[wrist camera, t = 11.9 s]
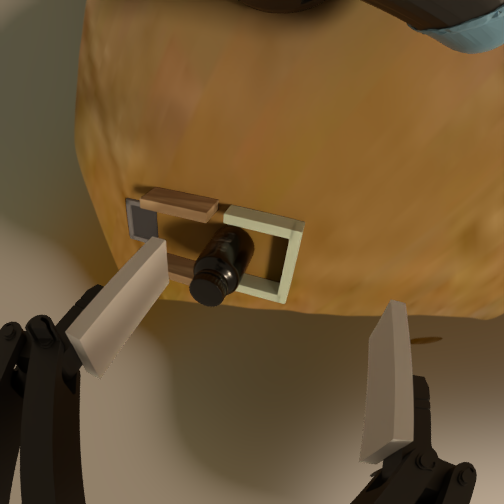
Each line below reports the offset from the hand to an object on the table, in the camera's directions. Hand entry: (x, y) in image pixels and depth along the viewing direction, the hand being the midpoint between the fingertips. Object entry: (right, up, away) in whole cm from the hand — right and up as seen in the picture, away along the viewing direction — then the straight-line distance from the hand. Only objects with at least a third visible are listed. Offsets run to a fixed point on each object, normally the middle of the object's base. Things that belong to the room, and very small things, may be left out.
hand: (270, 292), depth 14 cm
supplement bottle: (-4, +3, +34) cm, 35 cm away
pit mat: (-20, +7, +37) cm, 43 cm away
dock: (0, +2, +33) cm, 34 cm away
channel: (-12, +5, +36) cm, 38 cm away
